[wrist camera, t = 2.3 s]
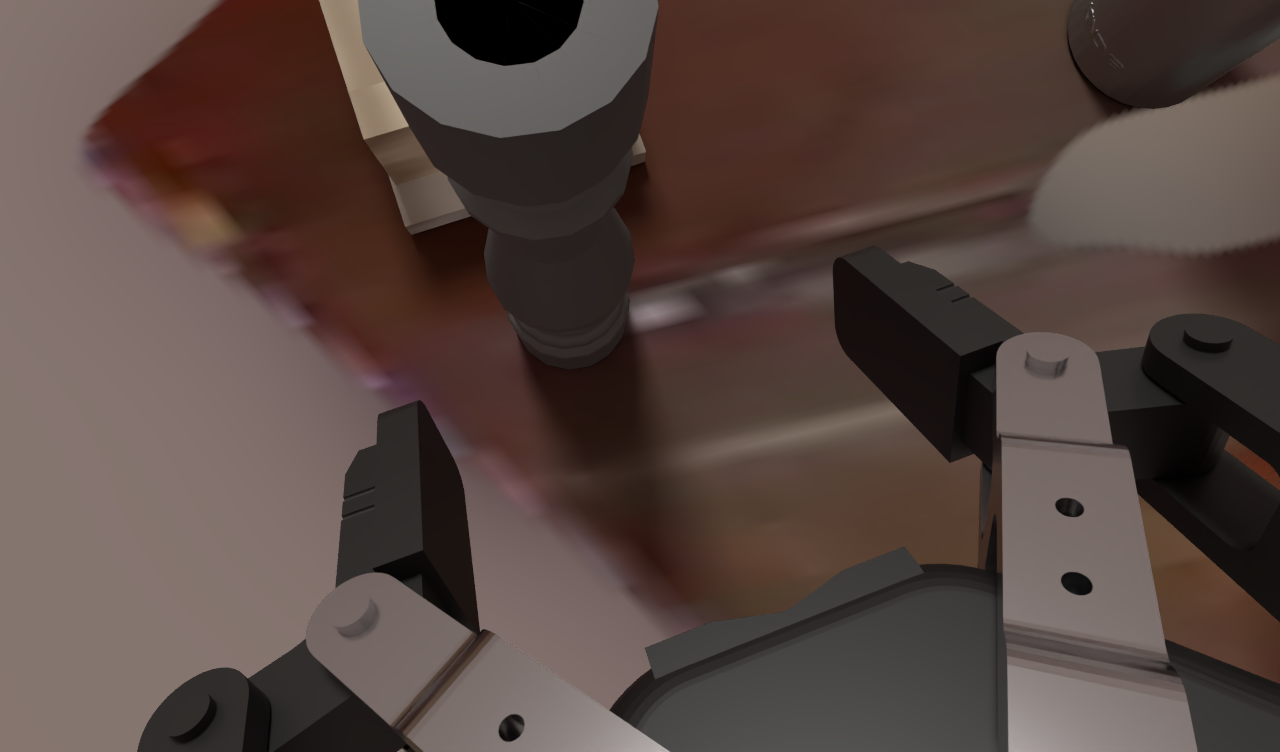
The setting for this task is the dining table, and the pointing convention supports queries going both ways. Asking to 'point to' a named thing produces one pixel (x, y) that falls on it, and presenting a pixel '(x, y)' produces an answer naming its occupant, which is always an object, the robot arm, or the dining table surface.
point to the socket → (396, 129)
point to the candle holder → (531, 145)
